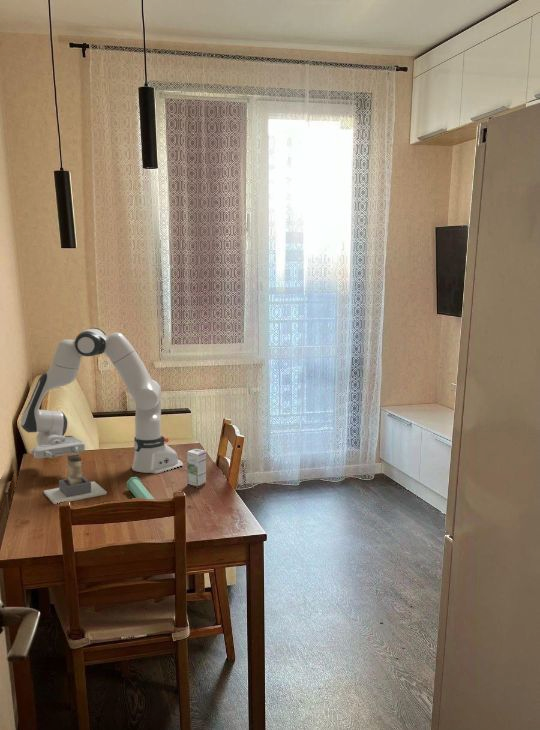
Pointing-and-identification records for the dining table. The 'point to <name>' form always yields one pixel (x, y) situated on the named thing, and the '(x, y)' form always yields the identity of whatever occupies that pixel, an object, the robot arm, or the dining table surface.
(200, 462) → the syrup box
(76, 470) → the spice jar
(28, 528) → the dining table surface
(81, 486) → the collar stand
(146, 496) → the container
